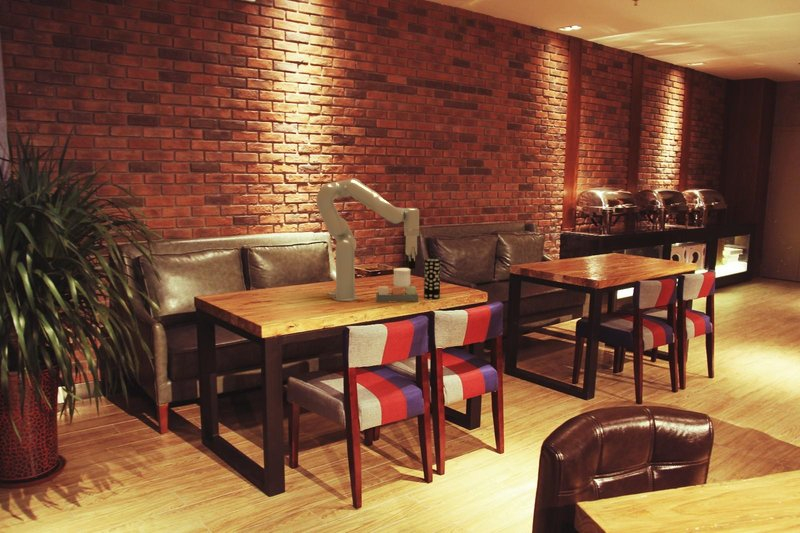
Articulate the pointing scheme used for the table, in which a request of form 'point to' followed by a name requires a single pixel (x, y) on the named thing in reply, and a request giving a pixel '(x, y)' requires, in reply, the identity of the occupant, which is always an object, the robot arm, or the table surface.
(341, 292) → the robot arm
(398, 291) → the clay button
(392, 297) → the button box
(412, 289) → the sage button
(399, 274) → the cup
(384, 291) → the white button
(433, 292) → the white-spotted black cylinder
